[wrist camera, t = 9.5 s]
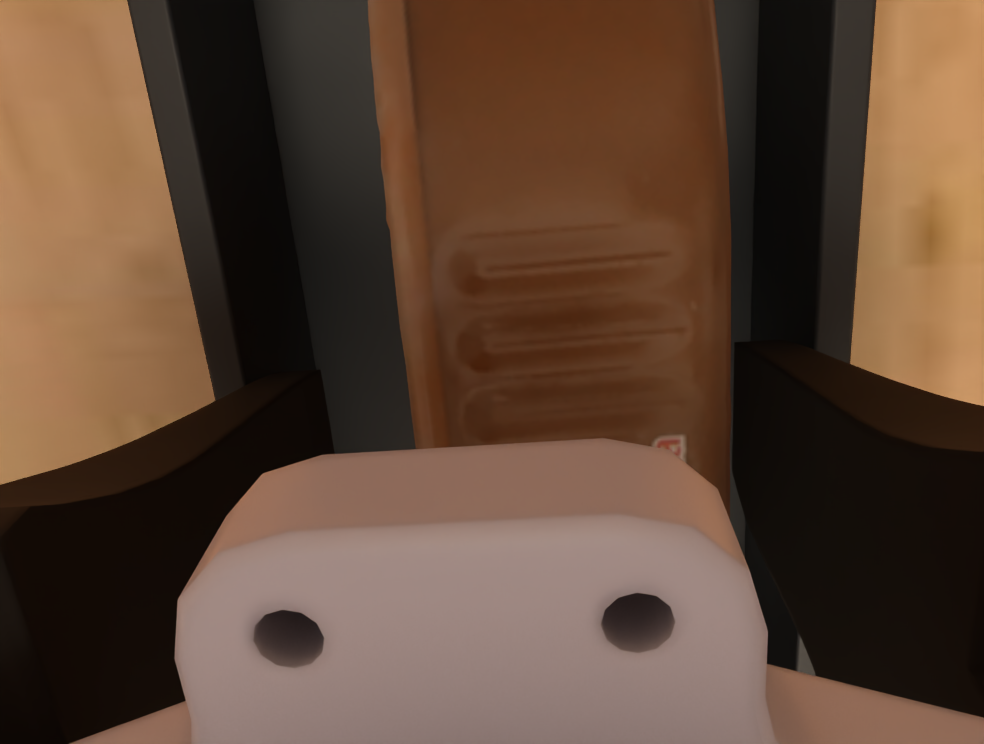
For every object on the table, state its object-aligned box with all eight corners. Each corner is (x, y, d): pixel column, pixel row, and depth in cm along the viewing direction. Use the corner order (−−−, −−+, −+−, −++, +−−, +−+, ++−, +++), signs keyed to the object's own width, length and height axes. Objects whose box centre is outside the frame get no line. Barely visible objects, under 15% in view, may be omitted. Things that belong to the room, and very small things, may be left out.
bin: (757, 728, 19) (812, 902, 16) (364, 743, 20) (327, 914, 16) (796, -324, 12) (912, -464, 9) (185, -255, 13) (45, -359, 9)
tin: (399, -154, 13) (196, -391, 5) (623, -175, 13) (782, -463, 5) (487, 688, 18) (458, 1191, 11) (642, 682, 18) (728, 1192, 10)
